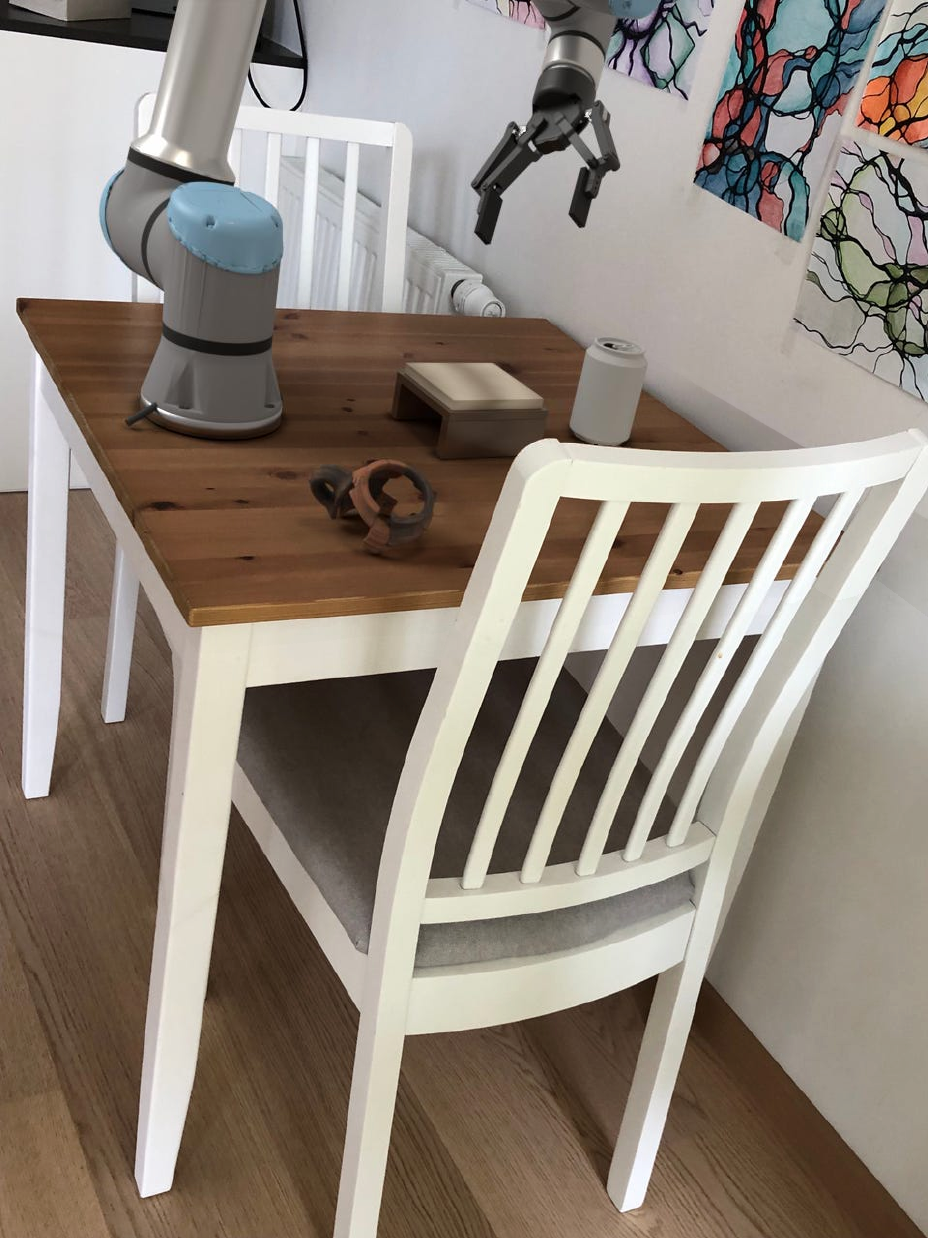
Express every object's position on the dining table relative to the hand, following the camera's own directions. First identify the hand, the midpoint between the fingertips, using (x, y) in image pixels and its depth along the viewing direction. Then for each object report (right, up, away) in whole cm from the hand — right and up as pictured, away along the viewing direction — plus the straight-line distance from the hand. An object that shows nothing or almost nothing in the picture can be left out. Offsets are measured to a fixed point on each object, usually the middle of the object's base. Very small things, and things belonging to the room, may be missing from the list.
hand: (528, 229), depth 148 cm
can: (+9, -24, +4) cm, 26 cm away
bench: (-8, -25, -3) cm, 26 cm away
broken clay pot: (-17, -39, -31) cm, 52 cm away
